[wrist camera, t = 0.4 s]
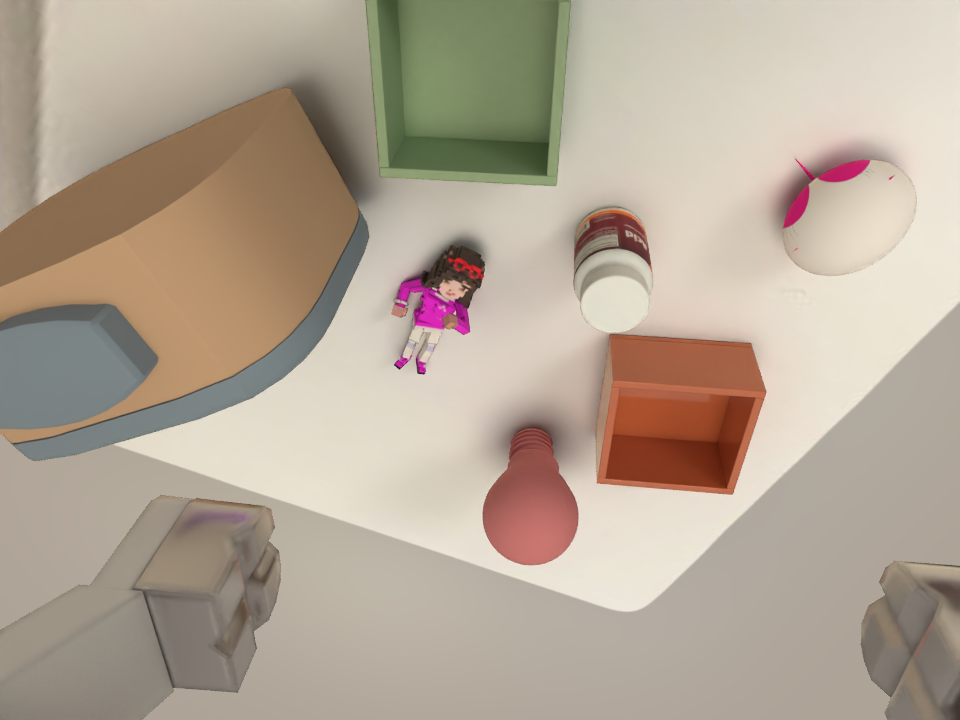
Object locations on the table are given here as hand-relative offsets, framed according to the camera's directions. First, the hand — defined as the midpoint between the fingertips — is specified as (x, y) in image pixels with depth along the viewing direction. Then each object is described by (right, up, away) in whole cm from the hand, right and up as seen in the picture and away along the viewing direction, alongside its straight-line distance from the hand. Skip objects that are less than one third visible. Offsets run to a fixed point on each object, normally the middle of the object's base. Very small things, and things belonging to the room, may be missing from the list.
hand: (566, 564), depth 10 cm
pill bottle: (+8, +11, +39) cm, 41 cm away
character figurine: (-4, +7, +44) cm, 45 cm away
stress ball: (+21, +13, +36) cm, 43 cm away
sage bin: (-1, +20, +33) cm, 39 cm away
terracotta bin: (+13, 0, +47) cm, 48 cm away
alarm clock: (-18, +15, +40) cm, 46 cm away
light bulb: (+4, -4, +51) cm, 51 cm away
